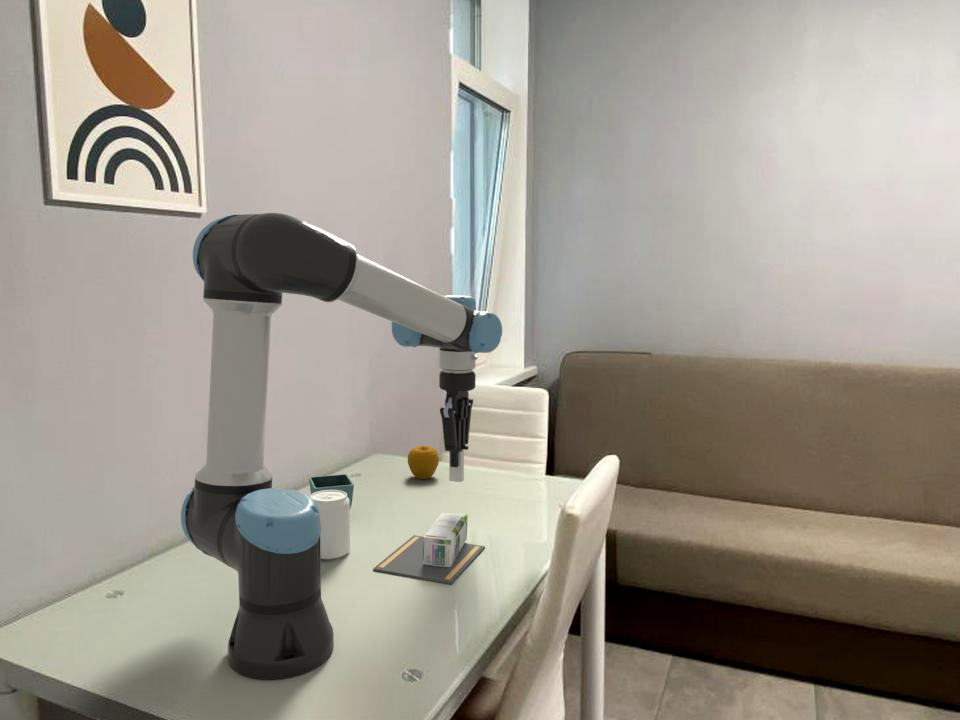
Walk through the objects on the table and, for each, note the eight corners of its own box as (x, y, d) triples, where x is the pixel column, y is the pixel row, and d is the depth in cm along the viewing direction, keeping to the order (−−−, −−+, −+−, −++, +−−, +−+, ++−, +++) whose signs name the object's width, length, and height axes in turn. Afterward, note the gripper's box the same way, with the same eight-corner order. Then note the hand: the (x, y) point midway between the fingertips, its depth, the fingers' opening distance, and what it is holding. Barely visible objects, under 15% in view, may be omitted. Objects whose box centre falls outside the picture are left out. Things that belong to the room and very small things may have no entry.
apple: (427, 471, 199) (427, 440, 198) (445, 478, 193) (445, 446, 191) (401, 476, 194) (401, 445, 193) (419, 484, 187) (419, 451, 186)
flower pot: (355, 523, 158) (354, 484, 157) (315, 527, 155) (314, 488, 154) (347, 510, 166) (346, 473, 165) (309, 514, 163) (308, 476, 162)
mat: (451, 584, 128) (451, 581, 128) (373, 570, 134) (373, 567, 134) (484, 548, 145) (484, 545, 145) (413, 537, 150) (413, 534, 150)
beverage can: (340, 563, 137) (339, 503, 135) (301, 559, 138) (300, 500, 137) (356, 547, 145) (355, 490, 143) (319, 543, 146) (318, 487, 145)
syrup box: (467, 540, 148) (452, 568, 134) (439, 537, 149) (422, 565, 135) (467, 513, 147) (452, 539, 133) (440, 511, 149) (422, 537, 134)
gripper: (462, 375, 139) (461, 491, 142) (485, 367, 151) (483, 474, 155) (428, 373, 142) (427, 487, 145) (452, 365, 154) (451, 470, 157)
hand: (456, 480), depth 150 cm, fingers closed
